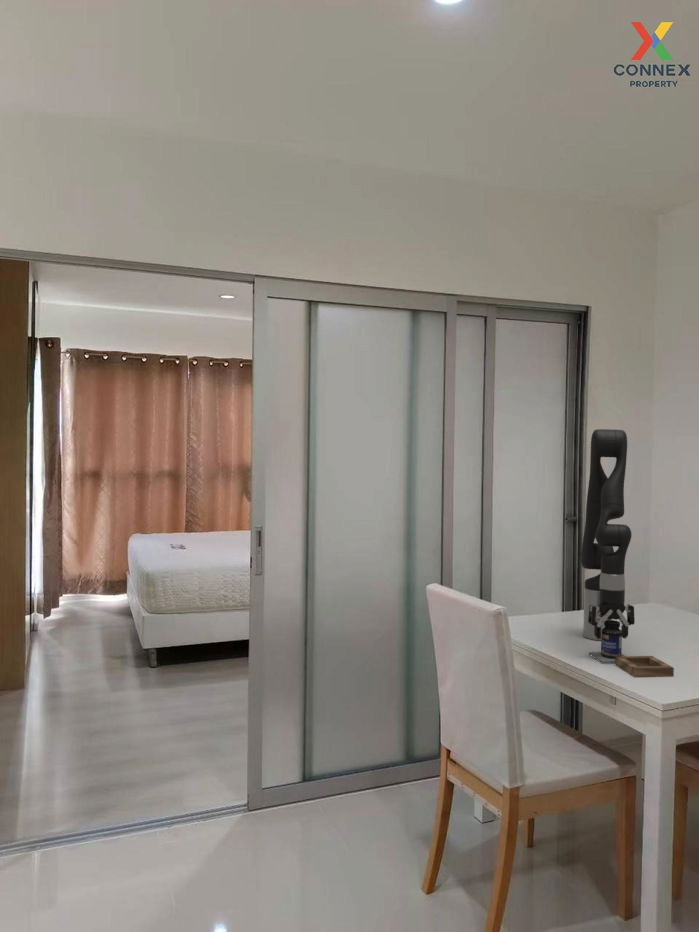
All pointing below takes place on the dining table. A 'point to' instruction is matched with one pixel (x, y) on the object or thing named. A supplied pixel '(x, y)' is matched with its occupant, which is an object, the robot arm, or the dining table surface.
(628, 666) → the walnut holder
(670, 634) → the dining table surface
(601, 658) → the grey pad
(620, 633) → the pill bottle
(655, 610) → the dining table surface
